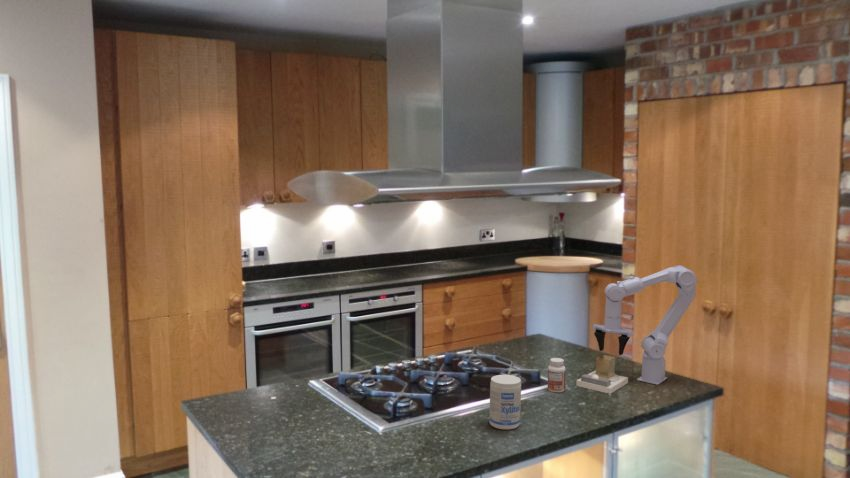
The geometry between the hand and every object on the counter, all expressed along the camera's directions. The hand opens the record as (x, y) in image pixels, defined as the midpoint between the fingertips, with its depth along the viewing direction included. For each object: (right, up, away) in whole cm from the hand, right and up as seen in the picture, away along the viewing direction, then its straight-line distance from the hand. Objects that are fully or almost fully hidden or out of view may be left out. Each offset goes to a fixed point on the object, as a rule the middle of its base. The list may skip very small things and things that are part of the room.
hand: (611, 352), depth 259 cm
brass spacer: (-3, -8, -3) cm, 9 cm away
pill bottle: (-22, -12, -10) cm, 27 cm away
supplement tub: (-44, -16, -41) cm, 62 cm away
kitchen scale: (-4, -11, -4) cm, 12 cm away
